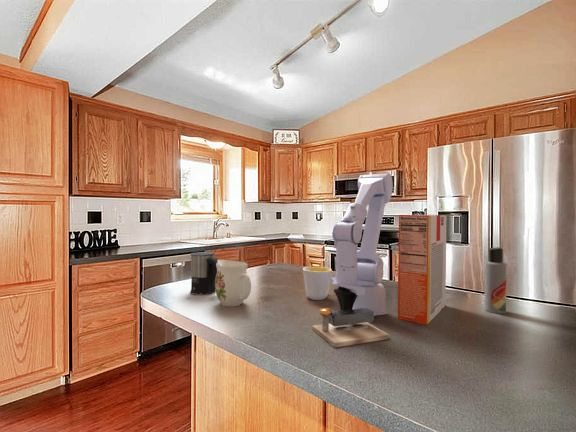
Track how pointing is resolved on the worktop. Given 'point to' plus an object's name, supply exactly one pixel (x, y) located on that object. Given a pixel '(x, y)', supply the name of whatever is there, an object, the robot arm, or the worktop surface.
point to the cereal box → (421, 267)
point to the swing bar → (348, 316)
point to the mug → (317, 282)
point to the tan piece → (348, 333)
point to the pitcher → (232, 282)
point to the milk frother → (203, 272)
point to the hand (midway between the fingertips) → (346, 315)
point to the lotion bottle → (495, 282)
